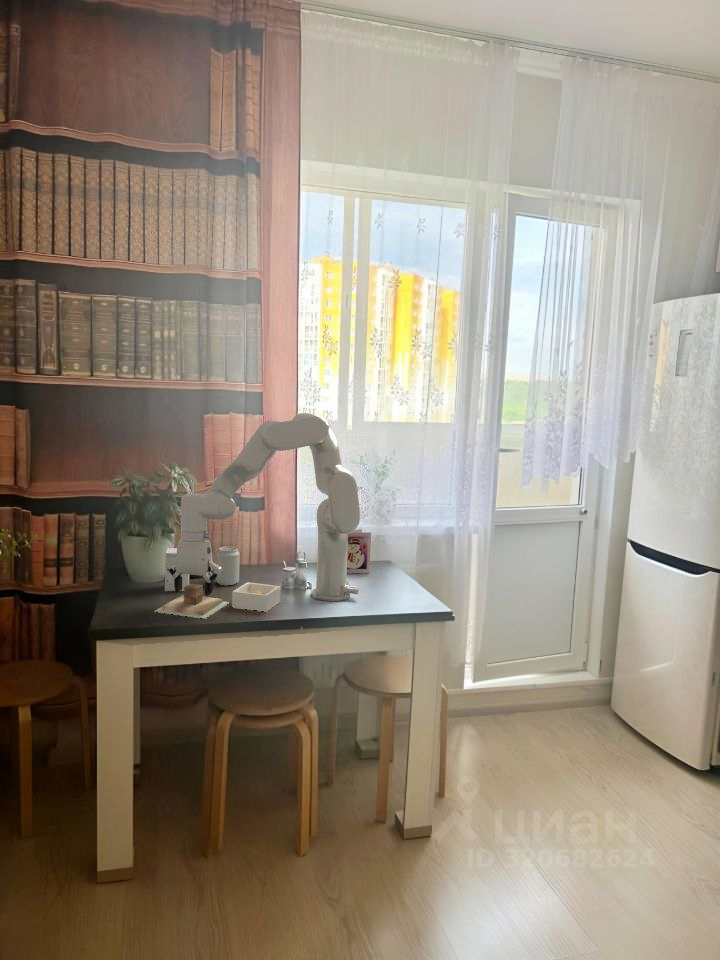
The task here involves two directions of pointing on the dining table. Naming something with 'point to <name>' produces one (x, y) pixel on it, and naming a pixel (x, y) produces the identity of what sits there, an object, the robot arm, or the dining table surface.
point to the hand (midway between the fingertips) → (193, 592)
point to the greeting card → (358, 552)
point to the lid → (192, 601)
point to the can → (228, 565)
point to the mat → (194, 614)
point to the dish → (256, 597)
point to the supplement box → (168, 577)
